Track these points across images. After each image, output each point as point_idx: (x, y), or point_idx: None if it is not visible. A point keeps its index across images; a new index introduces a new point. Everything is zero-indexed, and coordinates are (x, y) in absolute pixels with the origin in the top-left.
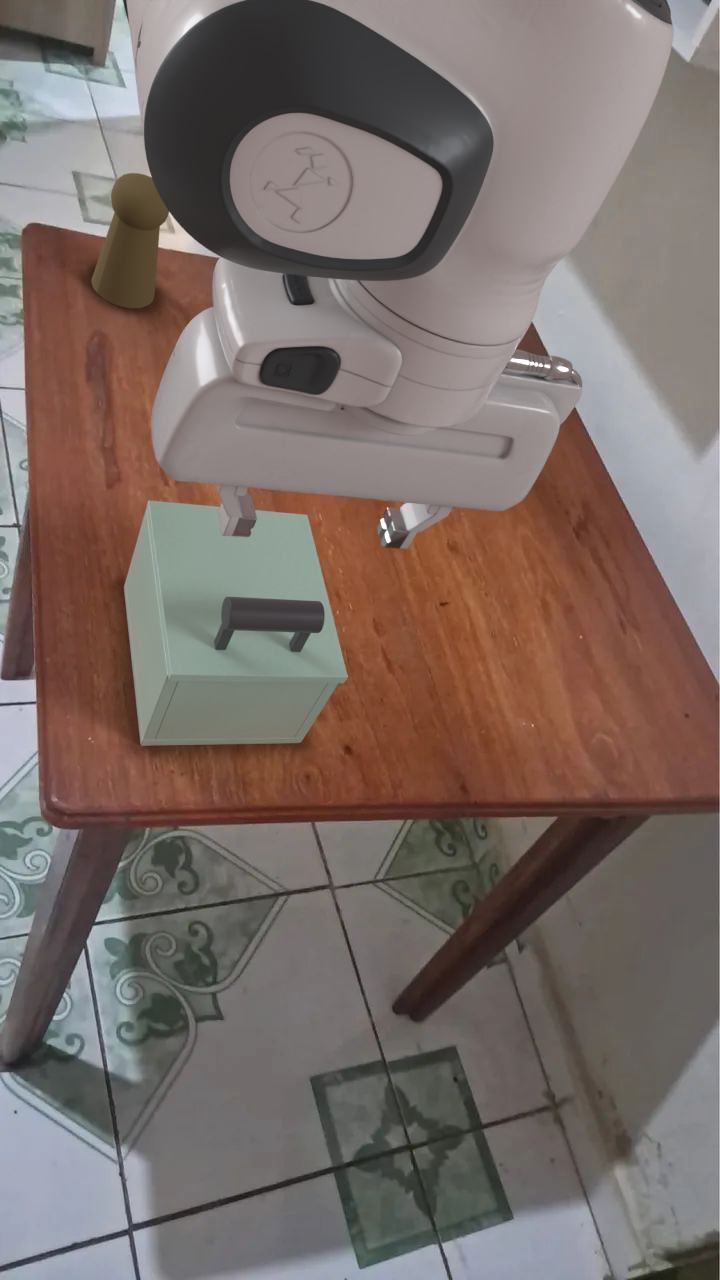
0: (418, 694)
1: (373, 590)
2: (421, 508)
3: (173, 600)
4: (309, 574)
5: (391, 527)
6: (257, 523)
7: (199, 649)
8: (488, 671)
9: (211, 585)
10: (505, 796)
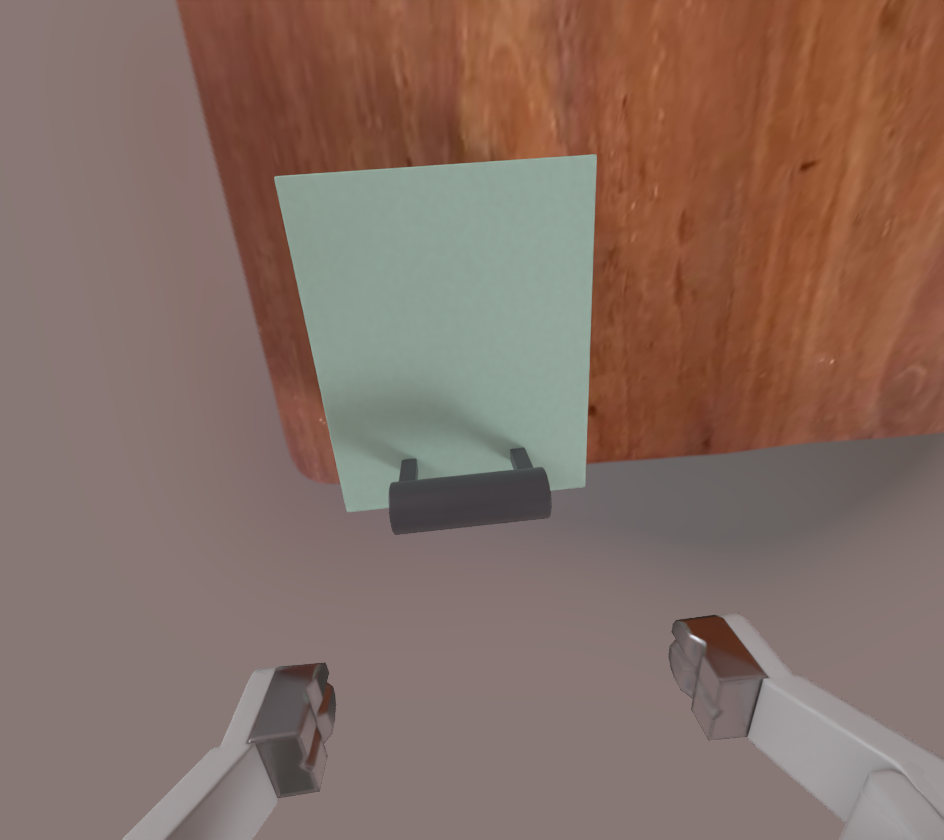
0: (701, 332)
1: (702, 152)
2: (827, 772)
3: (340, 401)
4: (567, 314)
5: (705, 720)
6: (488, 202)
7: (381, 474)
8: (815, 286)
9: (398, 363)
10: (749, 448)
